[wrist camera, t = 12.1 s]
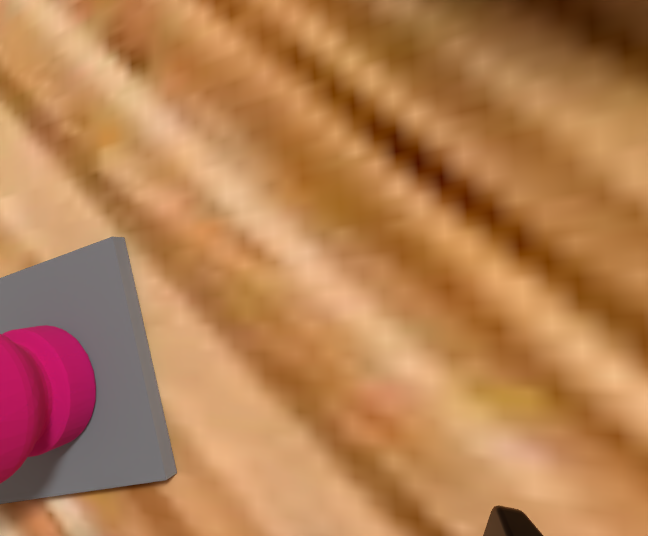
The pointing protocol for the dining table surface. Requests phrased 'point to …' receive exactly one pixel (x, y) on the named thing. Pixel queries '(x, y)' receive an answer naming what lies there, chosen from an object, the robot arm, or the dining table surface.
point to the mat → (109, 369)
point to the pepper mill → (41, 393)
